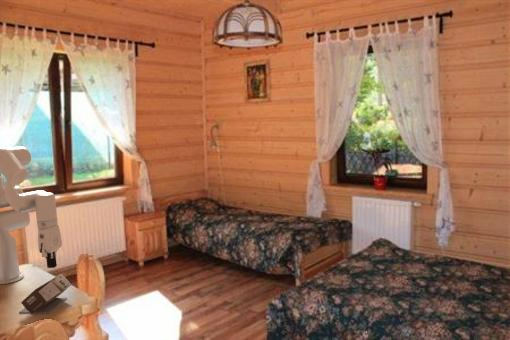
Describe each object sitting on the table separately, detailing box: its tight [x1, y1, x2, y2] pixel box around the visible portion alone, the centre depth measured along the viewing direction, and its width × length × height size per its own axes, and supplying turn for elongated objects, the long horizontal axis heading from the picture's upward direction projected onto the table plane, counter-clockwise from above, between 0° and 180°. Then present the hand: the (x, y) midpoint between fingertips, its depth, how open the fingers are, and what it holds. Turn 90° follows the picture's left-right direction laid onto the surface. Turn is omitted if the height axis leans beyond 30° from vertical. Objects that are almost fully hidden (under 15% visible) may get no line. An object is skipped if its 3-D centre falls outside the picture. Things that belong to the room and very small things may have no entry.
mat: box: [18, 297, 68, 315], centre depth 176 cm, size 12×13×1 cm
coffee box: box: [20, 273, 72, 315], centre depth 174 cm, size 9×6×16 cm
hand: (52, 267), depth 184 cm, fingers closed
